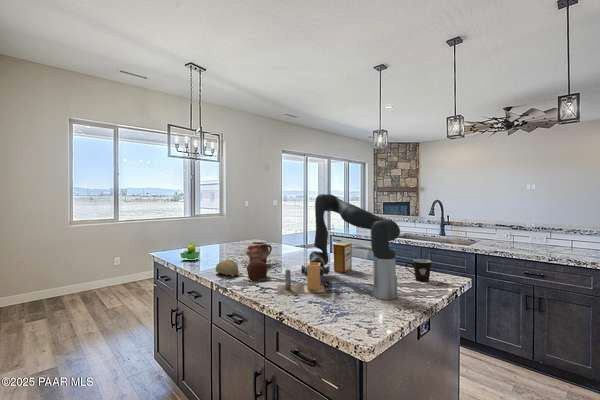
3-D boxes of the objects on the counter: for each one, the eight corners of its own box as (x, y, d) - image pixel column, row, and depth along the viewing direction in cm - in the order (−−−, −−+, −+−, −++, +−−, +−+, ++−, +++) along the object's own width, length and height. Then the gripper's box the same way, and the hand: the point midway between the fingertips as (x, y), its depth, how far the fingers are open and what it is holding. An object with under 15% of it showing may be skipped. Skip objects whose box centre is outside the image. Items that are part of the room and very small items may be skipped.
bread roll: (223, 271, 180) (223, 257, 179) (243, 274, 172) (242, 260, 172) (211, 274, 171) (211, 260, 171) (230, 278, 164) (230, 263, 163)
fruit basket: (179, 261, 207) (179, 244, 207) (186, 258, 216) (186, 242, 215) (195, 261, 205) (194, 244, 205) (201, 258, 214) (201, 242, 214)
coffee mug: (433, 279, 157) (433, 260, 157) (427, 283, 151) (427, 263, 151) (411, 275, 165) (411, 257, 165) (404, 279, 159) (404, 260, 159)
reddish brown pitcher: (264, 260, 207) (264, 239, 207) (277, 262, 199) (277, 241, 199) (241, 265, 192) (241, 243, 191) (254, 268, 184) (254, 245, 184)
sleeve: (308, 285, 143) (308, 262, 143) (320, 286, 142) (320, 262, 142) (307, 289, 137) (307, 265, 137) (319, 290, 137) (319, 265, 136)
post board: (323, 287, 147) (323, 265, 147) (327, 297, 133) (326, 273, 133) (277, 288, 146) (277, 266, 146) (276, 298, 132) (276, 274, 132)
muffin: (242, 280, 161) (241, 261, 160) (258, 275, 169) (258, 257, 168) (256, 284, 152) (256, 264, 152) (273, 279, 161) (272, 260, 160)
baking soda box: (341, 268, 183) (341, 241, 183) (351, 269, 180) (351, 242, 179) (334, 271, 176) (333, 244, 175) (344, 273, 172) (344, 245, 171)
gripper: (302, 257, 155) (297, 265, 138) (330, 258, 153) (329, 266, 136) (302, 272, 155) (297, 282, 138) (331, 273, 153) (329, 282, 136)
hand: (313, 274), depth 137 cm, fingers open, 6 cm apart
